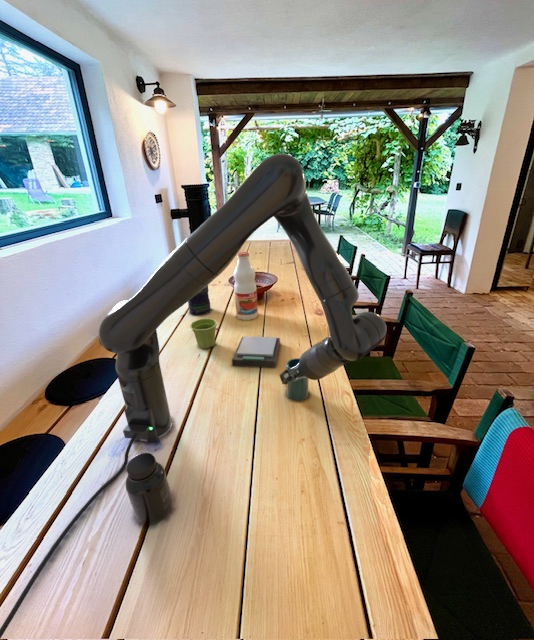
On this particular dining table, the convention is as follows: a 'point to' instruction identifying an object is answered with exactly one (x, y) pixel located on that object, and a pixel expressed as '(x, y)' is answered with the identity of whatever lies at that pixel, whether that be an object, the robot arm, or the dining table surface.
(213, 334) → the plant pot
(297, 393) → the tumbler
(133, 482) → the supplement bottle
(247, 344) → the scale
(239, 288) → the fruit juice
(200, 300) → the storage jar
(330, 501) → the dining table surface
